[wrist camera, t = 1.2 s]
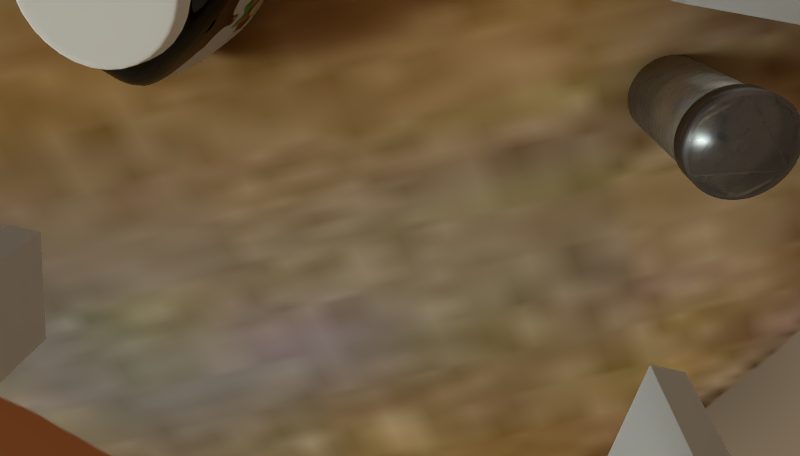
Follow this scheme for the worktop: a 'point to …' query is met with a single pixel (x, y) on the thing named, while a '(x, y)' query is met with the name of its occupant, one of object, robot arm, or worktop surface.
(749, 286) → the worktop surface
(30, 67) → the worktop surface
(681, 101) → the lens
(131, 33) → the spread jar
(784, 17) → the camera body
